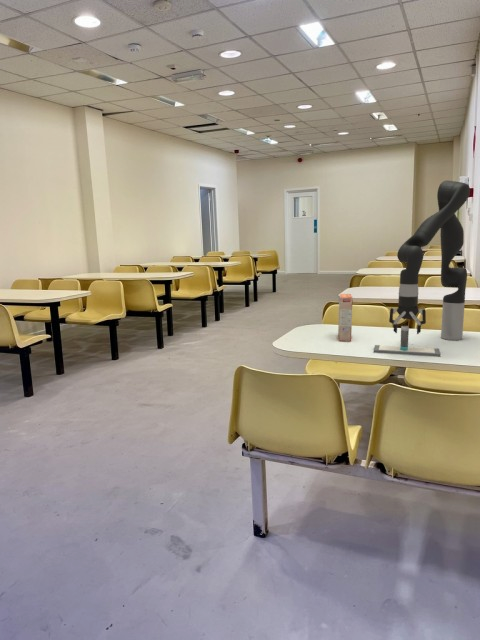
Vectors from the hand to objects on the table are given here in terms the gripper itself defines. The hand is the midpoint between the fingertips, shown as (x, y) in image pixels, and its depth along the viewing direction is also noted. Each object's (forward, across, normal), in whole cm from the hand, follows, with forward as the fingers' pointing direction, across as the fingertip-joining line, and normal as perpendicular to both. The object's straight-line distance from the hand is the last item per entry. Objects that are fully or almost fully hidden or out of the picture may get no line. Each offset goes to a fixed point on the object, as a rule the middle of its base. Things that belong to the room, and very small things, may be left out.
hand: (406, 333), depth 195 cm
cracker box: (+9, +28, -20) cm, 36 cm away
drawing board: (+8, 0, -1) cm, 8 cm away
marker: (+7, +1, +1) cm, 7 cm away
